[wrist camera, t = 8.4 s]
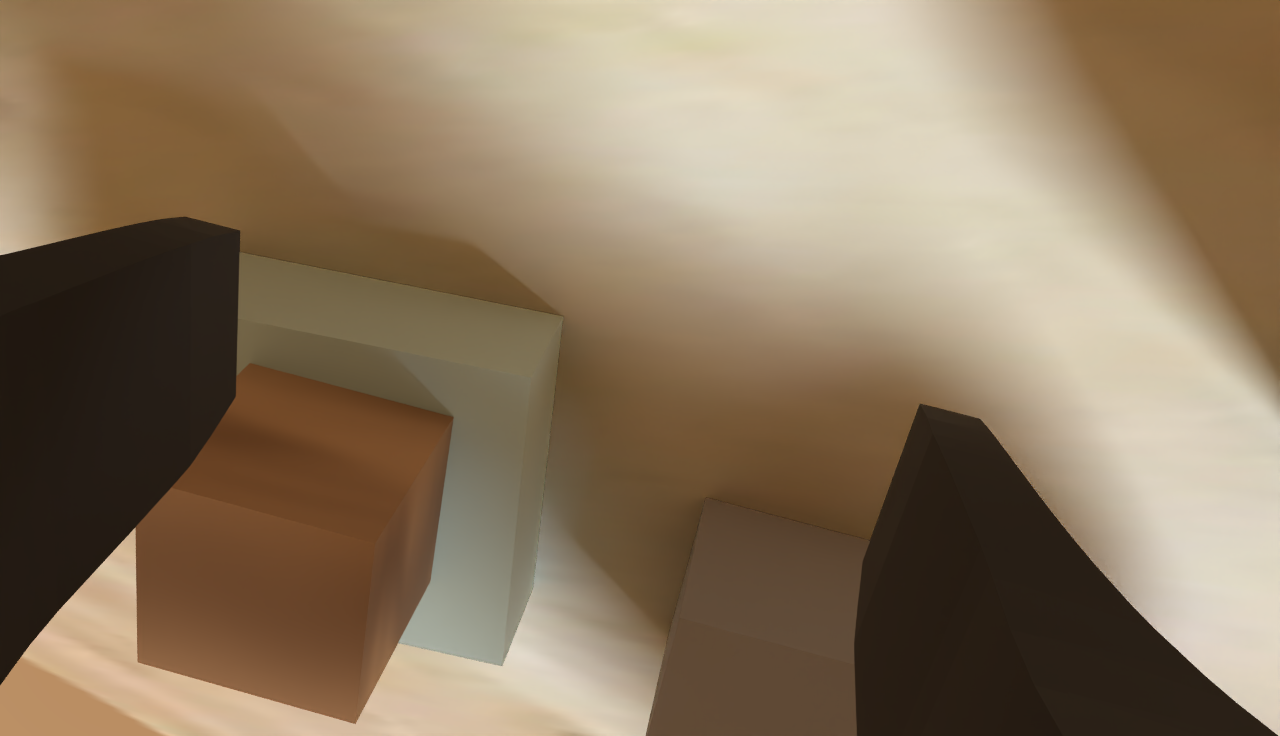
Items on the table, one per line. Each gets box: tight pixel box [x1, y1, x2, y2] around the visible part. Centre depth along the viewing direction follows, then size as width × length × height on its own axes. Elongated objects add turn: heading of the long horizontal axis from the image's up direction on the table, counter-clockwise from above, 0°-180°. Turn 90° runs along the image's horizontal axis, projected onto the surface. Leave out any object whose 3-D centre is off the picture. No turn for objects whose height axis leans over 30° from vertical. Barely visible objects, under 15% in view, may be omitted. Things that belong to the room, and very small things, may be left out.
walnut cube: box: [136, 363, 454, 724], centre depth 22 cm, size 4×4×4 cm
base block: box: [236, 252, 563, 666], centre depth 25 cm, size 7×7×3 cm
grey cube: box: [646, 498, 870, 736], centre depth 24 cm, size 4×4×4 cm
